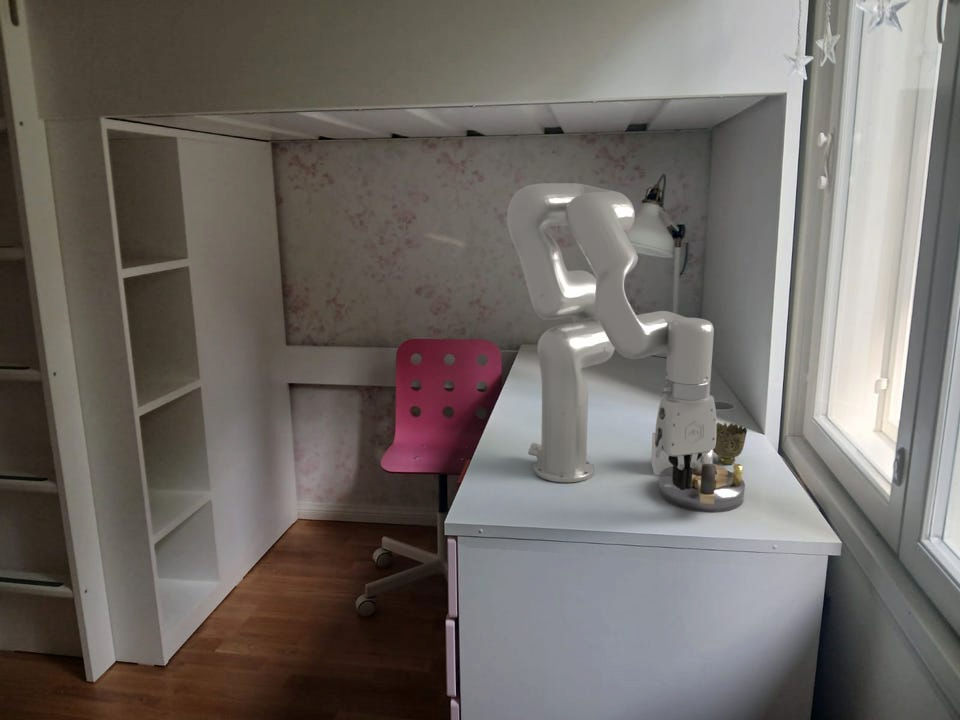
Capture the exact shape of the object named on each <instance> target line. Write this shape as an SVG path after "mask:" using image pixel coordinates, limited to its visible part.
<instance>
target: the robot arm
mask: <svg viewBox="0 0 960 720" xmlns="http://www.w3.org/2000/svg"><path fill="white" fill-rule="evenodd" d="M635 217H636V212H635V208H634V206H633V203H632V202H631V200H630V199H629V198H628V197H627V196H626V195H625V194H624V193H622V192H619V191H615V190H610V189H607V188H605V189H604V188H600V187H597V186H592V185H587V184H583V183H576V182H573V183H571V182H569V183H567V182H566V183H565V182H563V183H562V182H561V183H559V182H558V183H556V182H551V183H547V182H546V183H545V182H543V183H533V184H529V185H527V186H526V185H525V186H523V187H521V188H520V189H518V190H517V191H516V192H515V193H514V195H513V196H512V198H511V200H510V202H509V204H508V207H507V215H506V221H507V222H506V223H507V229H508V233H509V237H510V239H511V242H512V243H513V246H514V248H515V250H516V253H517V256H518V257H519V262H520V264H521V268H522V272H523V275H524V280H525V283H526V287H527V291H528V295H529V298H530V301H531V305H532V308H533V310H534V312H535V314H536V315H537V316H538V317H539V318H541V319H542V320H545V321H546V320H547V321H555V320H560V319H561V320H562V319H566V318H567V319H568V318H571V319H572V322H570V323H569V322H568V323H565V324H559V325H556V326H553V327H550V328H549V329H547V330H546V331H545V332H543V333H542V334H541V336H540V337H539V339H538V341H537V349H536V351H537V357H538V362H539V367H540V368H539V369H540V375H541V377H540V378H541V443H540V444H539V443H536V442H532V443H531V444H530V446H529V448H528V451H527V452H528V455H529V456H533V457H534V456H535V457H536V458H537V460H536V461H535V462H534V464H533V472H534V473H535V475H536V476H538V477H539V478H542V479H544V480H545V481H546V480H547V481H550V482H554V483H555V482H556V483H576V482H582V481H585V480H588V479H589V478H590V477H592V476H593V475H594V465H593V463H591V462H590V461H588V459H587V455H588V454H587V453H588V452H587V450H588V419H589V416H588V415H589V414H588V413H589V412H588V411H589V389H588V385H587V382H586V380H585V378H584V376H583V373H582V369H584V368H587V367H592V366H595V365H600V364H603V363H605V362H607V361H608V360H610V358H611V357H612V356H613V355H614V352H615V350H616V352H618V353H619V355H620V356H622V357H624V358H627V359H629V360H639V359H643V358H646V357H651V356H654V355H659V354H664V353H665V354H666V367H665V368H666V369H665V379H664V385H660V386H659V392H660V393H661V394H664V395H662V396H661V398H660V402H659V406H658V409H657V410H658V411H657V416H656V422H655V423H656V424H655V431H654V433H655V446H656V447H657V451H656V458H658V459H660V460H664V461H669V462H670V463H671V464H672V465H673V476H672V481H673V484H674V485H675V486H676V487H678V488H679V489H681V490H685V489H690V488H691V481H692V468H694V467H695V466H696V462H697V461H698V459H699V458H700V457H701V456H703V455H706V454H708V453H710V452H711V450H713V449H714V448H715V445H716V424H717V411H716V404H715V399H714V398H715V397H714V396H713V395H711V394H710V392H711V378H712V365H713V364H712V363H713V362H712V361H713V348H714V347H713V346H714V333H715V331H714V325H713V323H712V322H711V321H710V320H707V319H704V318H698V317H686V316H683V315H681V314H677V313H675V312H671V311H669V310H658V311H653V312H647V313H641V314H636V313H635V311H634V309H633V307H632V306H631V304H630V302H629V299H628V298H627V295H626V292H625V279H626V276H627V275H628V274H629V273H630V272H631V271H632V270H633V269H634V268H635V267H636V265H637V263H638V261H639V257H638V253H637V252H636V250H635V248H634V246H633V245H632V243H631V241H630V240H629V238H628V236H627V234H626V233H628V232H629V230H631V228H632V227H633V225H634V222H635ZM561 226H568V227H569V229H570V231H571V233H572V235H573V237H574V239H575V241H576V243H577V244H578V246H579V248H580V250H581V251H582V254H583V256H584V257H585V259H586V260H587V263H588V265H589V266H590V268H591V270H592V272H593V273H594V275H593V274H591V272H588V271H586V270H583V269H581V270H579V269H578V270H577V269H576V270H568V269H567V267H566V265H565V262H564V258H563V254H562V251H561V248H560V246H559V244H558V243H557V241H556V240H555V238H553V236H552V235H551V234H549V232H548V231H547V228H548V227H561Z"/></svg>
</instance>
